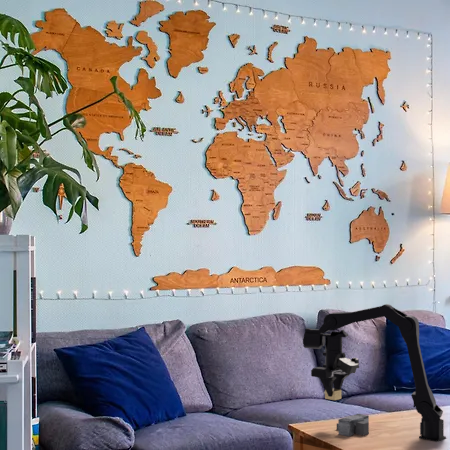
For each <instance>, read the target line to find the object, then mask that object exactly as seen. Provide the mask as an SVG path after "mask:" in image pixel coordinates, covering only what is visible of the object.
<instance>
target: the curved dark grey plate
mask: <svg viewBox="0 0 450 450" xmlns="http://www.w3.org/2000/svg"><path fill="white" fill-rule="evenodd" d="M369 416H370V415H369V414H368V415H367V414H362V413H356V414H353V415H349V416H346V417H343V418H338V419H337V420H338V430H337V431H338V432H337V433H338V435H341V436H346V437H351V436H354V435H355V433H354V425H355V426H356V422H359V421H364V422H369V419H370V418H369Z"/></svg>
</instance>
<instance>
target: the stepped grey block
mask: <svg viewBox="0 0 450 450" xmlns="http://www.w3.org/2000/svg"><path fill="white" fill-rule="evenodd" d="M369 424H370V423H369V422H364V421H359V422H356V426H355V425H354V434H356V435H358V436H359V435H360V436H367V435H369V432H370V431H369V430H370V427H369V426H370V425H369ZM336 430H337V431H338V423H336Z"/></svg>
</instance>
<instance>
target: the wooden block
mask: <svg viewBox="0 0 450 450" xmlns="http://www.w3.org/2000/svg"><path fill="white" fill-rule="evenodd" d="M323 394H324V398H325V400H331V401H339V400H341V399H342V389H341V390H340V389H334V388H333V390H332V396H331V397H330V396H328V394H327V392H326V390H324V391H323Z"/></svg>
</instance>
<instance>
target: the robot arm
mask: <svg viewBox="0 0 450 450" xmlns="http://www.w3.org/2000/svg"><path fill="white" fill-rule="evenodd" d="M379 318H386V319H387V320H388V321H390V323H391V324H394V325H395V326H397V327H398V330H399V333H400V335H401V337H402V339H403V341H404V343H405V346H406V348H407V352H408V359H409V362H410V367H411V371H412V372H411V373H412V377H413V380H414V382H413V383H414V386H415V391H413V392H412V393H411V399H412V401H413V408H415V411H416V413H418V414H420V415H421V419H420V420H421V421H420V423H419V429H420V430H419V431H420V432H419V435H418V438H419V439H422V440H427V441H428V440H429V441H433V442H439V441H441V440H445V439H446V438H447V436H445V435H444V433H445V432H444V429H445V427H444V419H442V418H441V417H442V416H443V412H444V410H442V409H441V407H440V406H439V405H438V404H437V401H436V399H435V396H434V393H433V391H432V390H431V387H430V386H429V383H428V378H427V373H426V368H425V363H424V360H423V355H422V350H421V345H420V322H419V319H418V318H417V317H416V316H414V315H409V314H406V313H404V312H402V311H401V310H399V309H397V308H395V307H394V306H392V305H391V304H390V303H386V304H382V305H380V306H375V307H374V306H373V307H371V308H364V309H361V310H356V311H349V312H348V311H347V312H345V311H340V312H339V311H337V312H336V311H335V312H331V313H328V314H326V315H325V317H324V318H323V324H322V325H321V326H320V327H319V328H316V329H314V328H304V333H303V338H302V344H303V345H302V346H303V348H304V349H315V350H316V349H318V350H321V349H322V348H323V347H325V351H323V352H322V356H324V357H325V358H324V359H325V362H324V364H322V367H321V366H317V367H312V369H311V370H310V373H311V374H310V376H311V377H315V378H318V379H319V380H320V382H321V383H322V385H323V388H324V389H325V390H326V392H327V394H328V396H330V397H331V396H332V390H333V389H340V390H341V391H342V387H343V384H344V381H345V379H346V378H347V377H349V376H350V375H352V374H356V372H357V370H358V369H359V368H360V361H359V358H357V357H352V358H348V357H346V353H345V352H343V338H347V337H349V334H348V333H347V332H346V331H345V330H344V329H342V328H343V327H346V326H348V325H351V324H353V323H354V324H355V323H359V322H364V321H369V320H374V319H379ZM339 329H341V330H340V331H335V330H339ZM330 331H331V333H327V332H330ZM325 390H324V391H325Z"/></svg>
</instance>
